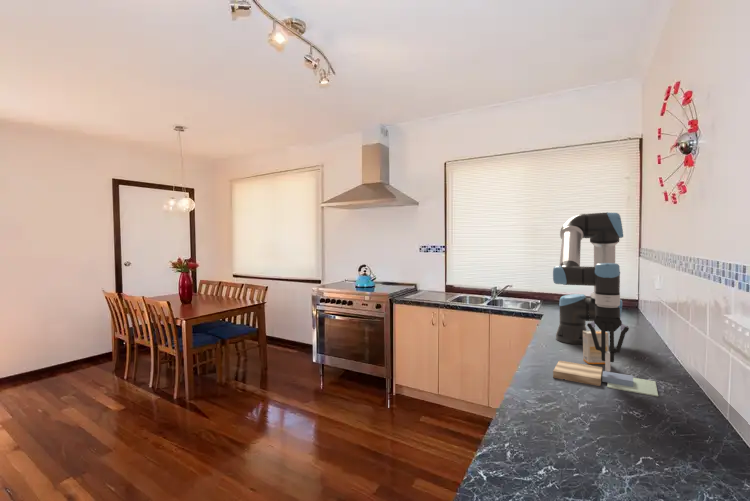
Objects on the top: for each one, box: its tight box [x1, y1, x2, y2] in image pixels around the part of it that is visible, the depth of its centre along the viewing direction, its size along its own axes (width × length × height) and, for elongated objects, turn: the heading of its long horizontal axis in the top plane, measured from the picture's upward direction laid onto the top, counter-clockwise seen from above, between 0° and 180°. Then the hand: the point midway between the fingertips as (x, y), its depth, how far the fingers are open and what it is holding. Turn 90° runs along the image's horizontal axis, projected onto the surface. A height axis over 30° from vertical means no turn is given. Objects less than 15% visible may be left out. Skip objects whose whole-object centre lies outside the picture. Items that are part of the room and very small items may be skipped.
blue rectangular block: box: [601, 370, 634, 387], centre depth 128 cm, size 9×6×2 cm, turn 55°
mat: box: [606, 377, 659, 398], centre depth 126 cm, size 14×14×1 cm
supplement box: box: [582, 330, 610, 365], centre depth 149 cm, size 8×5×13 cm, turn 84°
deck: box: [552, 360, 603, 387], centre depth 136 cm, size 14×15×2 cm
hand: (607, 370), depth 130 cm, fingers closed
